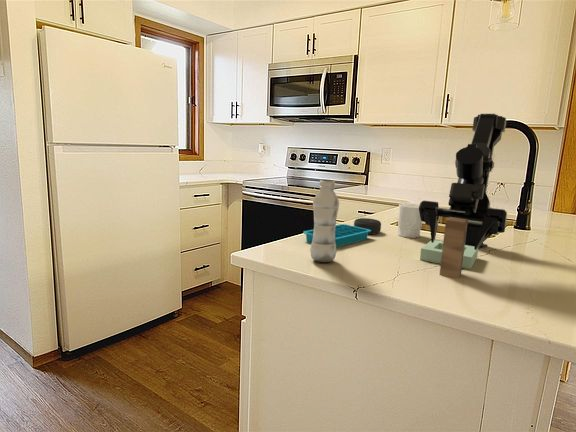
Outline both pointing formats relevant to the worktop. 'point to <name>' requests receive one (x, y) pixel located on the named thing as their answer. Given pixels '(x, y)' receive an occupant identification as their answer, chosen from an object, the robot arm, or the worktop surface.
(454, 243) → the brown square peg
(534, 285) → the worktop surface
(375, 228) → the smart speaker
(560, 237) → the worktop surface
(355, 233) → the ice cube tray
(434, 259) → the green square hole base
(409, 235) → the white cup
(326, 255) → the plastic bottle
